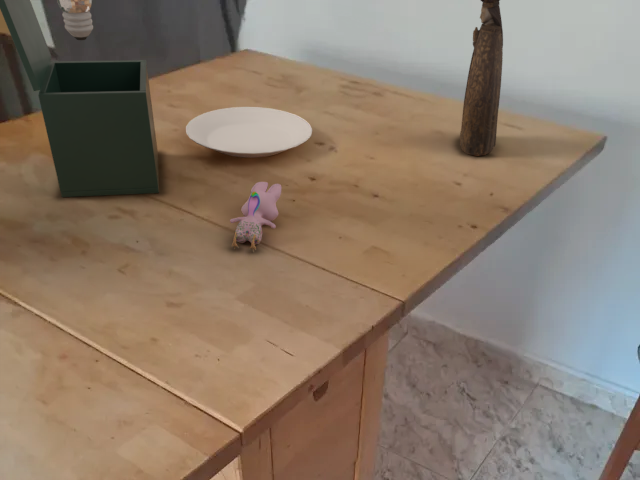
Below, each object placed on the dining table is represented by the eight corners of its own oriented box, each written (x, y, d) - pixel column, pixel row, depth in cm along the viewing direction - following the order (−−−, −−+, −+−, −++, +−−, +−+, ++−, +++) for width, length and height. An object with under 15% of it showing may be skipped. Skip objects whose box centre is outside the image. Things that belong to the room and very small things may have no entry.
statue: (443, 140, 119) (469, -31, 102) (479, 134, 121) (511, -33, 104) (472, 158, 113) (505, -19, 96) (509, 152, 116) (547, -22, 99)
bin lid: (5, -65, 88) (-31, -58, 88) (-14, -44, 78) (-55, -36, 78) (51, 57, 98) (19, 63, 98) (40, 90, 88) (4, 97, 88)
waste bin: (157, 153, 110) (146, 59, 101) (159, 193, 100) (145, 92, 90) (70, 157, 108) (49, 61, 99) (61, 197, 98) (37, 94, 88)
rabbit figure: (267, 262, 89) (293, 196, 98) (265, 223, 84) (292, 158, 93) (221, 256, 90) (251, 191, 99) (216, 217, 85) (248, 153, 94)
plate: (228, 177, 104) (227, 163, 103) (165, 133, 116) (163, 119, 115) (336, 150, 114) (337, 136, 112) (267, 112, 126) (267, 99, 124)
